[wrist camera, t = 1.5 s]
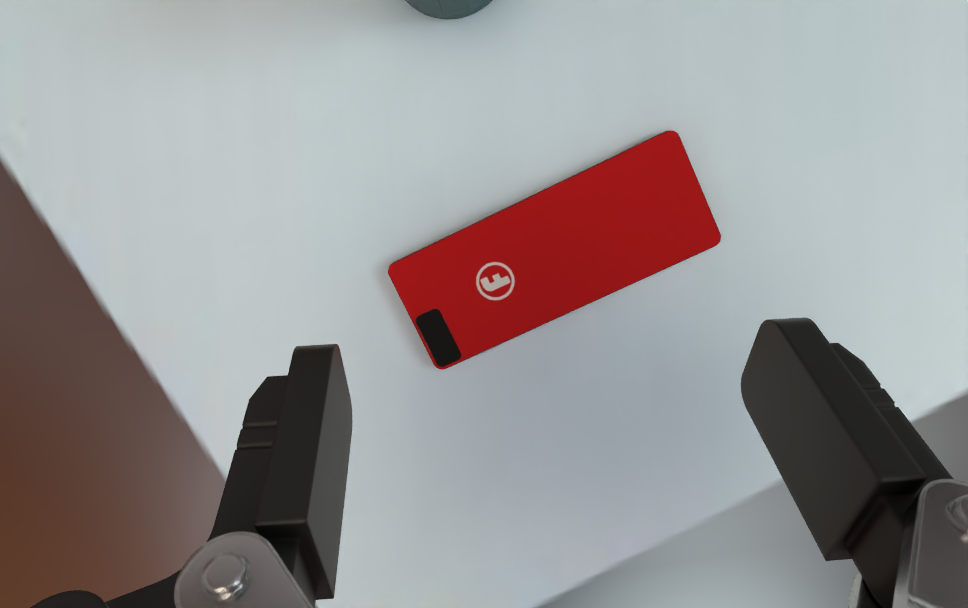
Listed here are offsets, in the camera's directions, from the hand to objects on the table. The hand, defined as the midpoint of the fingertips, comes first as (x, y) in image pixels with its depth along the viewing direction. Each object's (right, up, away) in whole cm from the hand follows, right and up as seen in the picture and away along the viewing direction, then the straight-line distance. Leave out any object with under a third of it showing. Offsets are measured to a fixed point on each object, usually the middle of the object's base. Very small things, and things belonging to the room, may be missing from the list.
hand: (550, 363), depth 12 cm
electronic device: (+2, +4, +18) cm, 19 cm away
